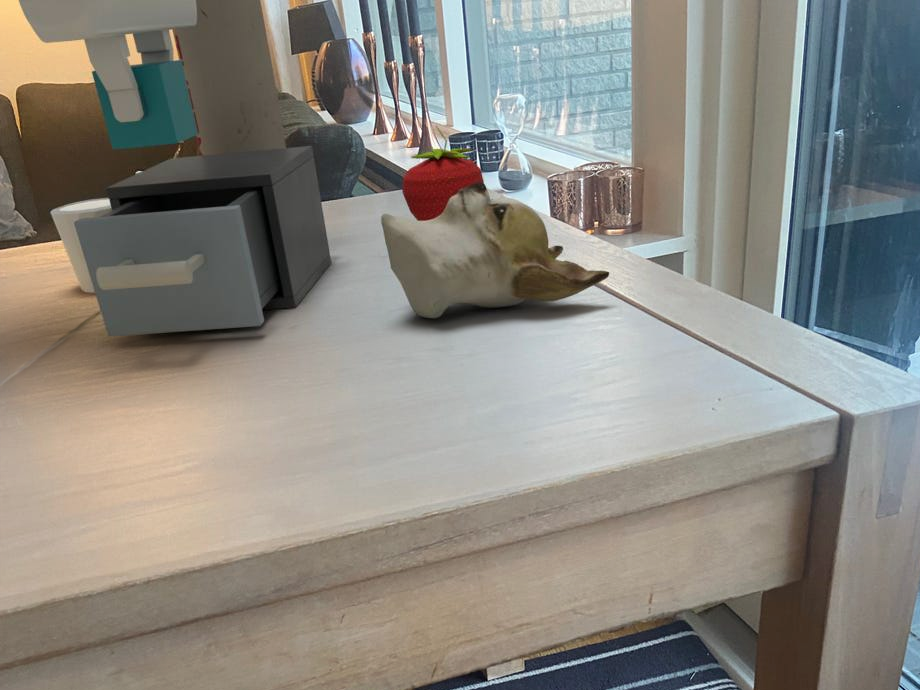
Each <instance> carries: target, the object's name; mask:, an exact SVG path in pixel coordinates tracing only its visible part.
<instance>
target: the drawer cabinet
mask: <svg viewBox="0 0 920 690" xmlns="http://www.w3.org/2000/svg"><path fill="white" fill-rule="evenodd" d="M260 186H263V187H262V188H263V193H264V198H265V203H266V208H267V214H268V219H269V224H270V229H271V234H272V239H273V244H274V249H275V254H276V259H277V264H278V270H279V275H280V280H281V285H282V287H281V288H280V289H279V291H278V292H277V293H276V294H275V295H274V296H273V297H272V298H271V299H270V301H269V302H268V303H267V304H266V305H265V306H264V307H263V308H262V311H265V310H266V311H267V310H279V309H294V308H296V307H298V305H299V304H300V303H301V301H302V300H303V299H304V298H305V296H306V295H307V294H308V293H309V292H310V290H311V289H312V288H313V286H314V285H315V284H316V283H317V282H318V280H319V279H320V278H321V277H322V275H324V273H325V272H326V271H327V269H328V268H329V267H330V265H331V264H332V258H331V253H330V247H329V246H330V245H329V241H328V234H327V229H326V223H325V217H324V209H323V204H322V199H321V193H320V186H319V181H318V174H317V167H316V162H315V157H314V150H313V146H312V145H307V146H306V145H305V146H295V147H286V148H282V149H271V150H260V151H249V152H238V153H227V154H215V155H204V156H201V155H193V156H182V157H173V158H169V159H167V160H164V161H162V162H160V163H157V164H155V165H153V166H151V167H149V168H147V169H145V170H143V171H140V172H138V173H136V174H134V175H132V176H130V177H127V178H124V179H123V180H121V181H119V182H116V183H114V184H112V185H110V186H107V187H106V189H105V190H106V194H107V198H109V199H110V200H109V201H110V204H111V208H112V210H114V209H116V208H118V207H120V206H122V205H124V204H126V203H128V202H130V201H131V200H133V199H135V198H137V197H143V196H155V195H167V194H178V193H190V192H202V191H213V190H225V189H237V188H248V187H260Z"/></svg>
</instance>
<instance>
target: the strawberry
mask: <svg viewBox="0 0 920 690" xmlns="http://www.w3.org/2000/svg"><path fill="white" fill-rule="evenodd" d="M435 127H436V130H437V131H438V132H439V134H440V135H441V136H442V138H443V139H444V141H445V142H444V148H432V149H431V150H430V151H426V152H423V153H420V154H415V155H412V156H410V157H411V158H410V159H421V160H422V159H424V160H423V161H422V162H420V163H418V164H416V165H414V166H412V167H410V168H408V170H407V171H406V172H405V174H404V176H403V178H402V190H401V191H402V194H403V198H404V200H405V202H406V205H407V207H408V209H409V211H410V214H411V215H412V216H413V218H414V219H415V220H416V221H427V220H431V219H434V218H436V217H438V216H439V215H441V214H442V213H443V211H444V210H445V208H446V206H447V203H448V201H449V199H450V198H451V197H452V196H454V195H456V194H457V193H458V191H459V190H460V189H462V188H466V187H468V186H470V185H472V184H474V183H477V182H483V183H484V184H485V180H484V177H483V174H482V169H481V168H480V167H479V166H478V164H476V163H475V161H474V160H470V157H469V156H468V155H465V154H464V153H466V152H467V153H468V152H471V151H472V148H452V149H451V150H447V149H446V148H447V143H448V140H447V138H446V137H445V136H444V133H443V132H442V131H441V130H440V128H439V127H438V126H437V125H435Z"/></svg>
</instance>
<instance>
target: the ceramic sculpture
mask: <svg viewBox="0 0 920 690" xmlns="http://www.w3.org/2000/svg"><path fill="white" fill-rule="evenodd" d="M380 223H381V227H382V232H383V235H384V236H383V237H384V242H385V246H386V250H387V254H388V259H389V264H390V269H391V271H392V272H393V274H394V275H395V277H396V278H397V279H398V282H399V283H400V285H401V287H402V289H403V292H404V294H405V296H406V298H407V301H408V303H409V306H410V307H411V309H412V310H413V312H414V313H416V314H417V315H418V316H419V317H423V318H425V319H437V318H439V317H441V316H442V315H443V314H444V312H445V311H446V310H447V309H448V308H449V307H450V306H452V305H454V304H468V305H474V306H478V307H480V308H481V307H482V308H493V309H494V308H503V307H509V306H510V307H511V306H516V305H519V304H520V303H522V302H524V301H525V300H531V301H532V300H533V301H538V302H557V301H560V300H564V299H568V298H569V297H573V296H575V295H578V294H579V293H581V292H583V291H585V290H588V289H590V288H591V287H593V286H595V285H597V284H599V283H601V282H603V281H604V280H606V279H608V277H609V276H610V271H607V270H595V269H594V270H593V269H591V270H587V269H586V268H584V267H583V266H581V265H579V264H578V263H575V262H572V261H569V260H559V259H557V258H558V257H559V256H560V255H562V253H563V251H564V246H563V245H553V246H550V247H549V242H550V241H549V237H548V231H547V228H546V224H545V223H544V220H543V219H542V217H541V216H540V215H539V213H538V212H537V211H536V210H535V209H534V208H533V207H531V206H529V205H528V204H526V203H524V202H522V201H520V200H517V199H515V198H510V197H502V198H495V199H493V198H492V199H491V197H490V194H489V190H488V188H487V186H486V184H485V182H484V183H483V182H477V183H474V184H472V185H470V186H468V187H466V188H462V189H460V190H459V191H458V193H457V194H456V195H454V196H452V197H451V198H450V199H449V201H448V203H447V206H446V208H445V210H444V211H443V213H442V214H441V215H439V216H438V217H436V218H434V219H431V220H427V221H418V220H417V219H412V218H409V217H405V216H394V215H391V214H389V213H383V214H381V216H380Z"/></svg>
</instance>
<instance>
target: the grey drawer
mask: <svg viewBox="0 0 920 690" xmlns="http://www.w3.org/2000/svg"><path fill="white" fill-rule="evenodd" d="M262 187H263V186H260V187H248V188H237V189H225V190H213V191H202V192H190V193H178V194H167V195H155V196H143V197H137V198H135V199H133V200H131V201H130V202H128V203H126V204H124V205H122V206H120V207H118V208H116V209H114V210H112V211H110V212H108V213H106V214H104V215H102V216H100V217H93V218H81V219H79V220H77V221H75V222H74V225H75V228H76V232H77V235H78V238H79V241H80V245H81V248H82V251H83V255H84V258H85V261H86V264H87V268H88V271H89V274H90V278H91V281H92V284H93V288H94V291H95V293H94V294H95V297H96V301H97V304H98V307H99V311H100V313H101V317H102V320H103V323H104V327H105V330H106V334H107V336H108V337H123V336H135V335H136V336H137V335H149V334H151V335H152V334H164V333H165V334H166V333H180V332H192V331H195V332H196V331H206V330H223V329H235V328H237V329H238V328H250V327H260V326H262V325H263V323H264V322H265V317H264V313H263V310H262V308H263V307H264V306H265V305H266V304H267V303H268V302H269V301H270V299H271V298H272V297H273V296H274V295H275V294H276V293H277V292H278V291H279V289H280V288H281V287H282V285H281V280H280V275H279V270H278V264H277V259H276V254H275V249H274V244H273V239H272V234H271V229H270V224H269V219H268V214H267V208H266V203H265V198H264V193H263V188H262Z"/></svg>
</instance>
